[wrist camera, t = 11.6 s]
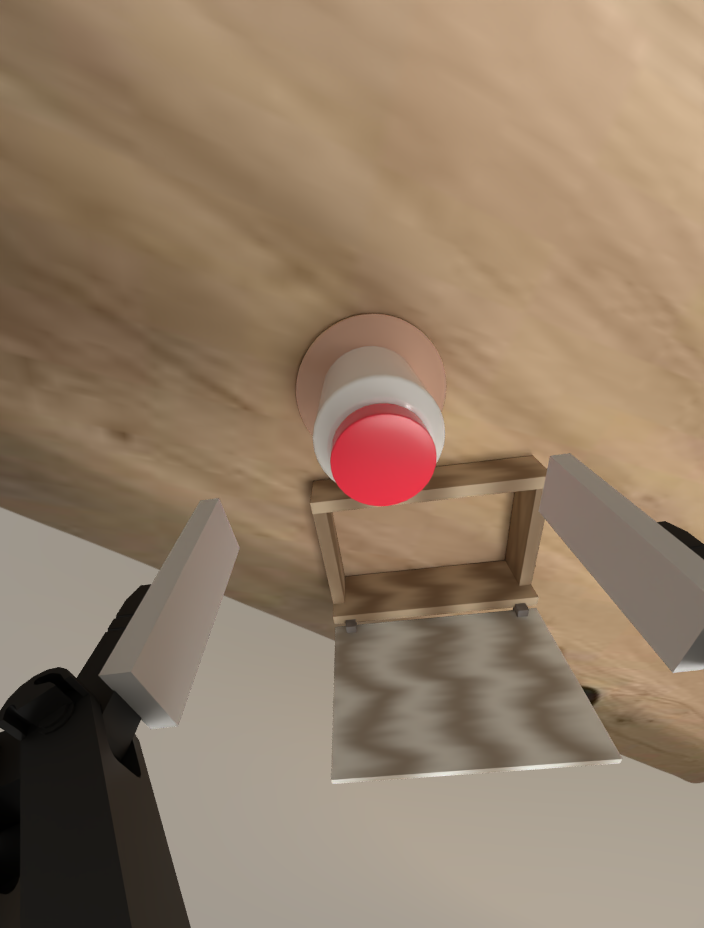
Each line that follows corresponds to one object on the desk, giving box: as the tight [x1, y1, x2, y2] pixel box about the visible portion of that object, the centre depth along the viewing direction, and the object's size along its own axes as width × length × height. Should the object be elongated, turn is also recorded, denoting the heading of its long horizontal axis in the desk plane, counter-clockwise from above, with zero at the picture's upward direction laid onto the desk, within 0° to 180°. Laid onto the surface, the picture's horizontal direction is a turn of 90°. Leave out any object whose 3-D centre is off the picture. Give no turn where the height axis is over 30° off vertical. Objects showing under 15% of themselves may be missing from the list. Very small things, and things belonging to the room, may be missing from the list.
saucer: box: [296, 313, 447, 436], centre depth 27 cm, size 12×12×1 cm
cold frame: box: [310, 456, 622, 784], centre depth 27 cm, size 20×16×17 cm
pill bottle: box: [313, 346, 445, 506], centre depth 22 cm, size 8×8×11 cm
